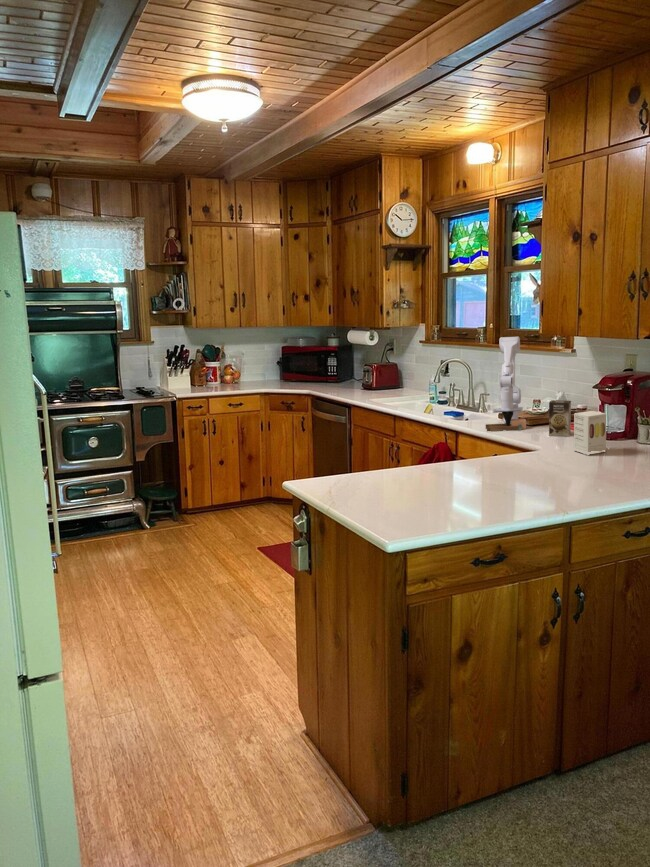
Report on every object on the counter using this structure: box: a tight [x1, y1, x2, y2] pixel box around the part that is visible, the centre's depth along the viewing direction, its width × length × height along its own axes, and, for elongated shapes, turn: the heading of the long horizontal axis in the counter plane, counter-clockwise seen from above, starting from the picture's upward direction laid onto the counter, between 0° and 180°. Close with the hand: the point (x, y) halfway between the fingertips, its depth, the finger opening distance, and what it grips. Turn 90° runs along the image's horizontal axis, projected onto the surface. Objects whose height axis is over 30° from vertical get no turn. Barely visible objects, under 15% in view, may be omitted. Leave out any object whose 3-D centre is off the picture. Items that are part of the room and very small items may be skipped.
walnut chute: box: [485, 422, 523, 432], centre depth 349 cm, size 8×17×3 cm, turn 82°
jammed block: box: [510, 418, 527, 430], centre depth 348 cm, size 4×7×4 cm, turn 82°
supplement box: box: [573, 410, 607, 452], centre depth 293 cm, size 10×9×17 cm
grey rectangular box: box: [548, 399, 572, 438], centre depth 327 cm, size 9×6×16 cm
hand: (507, 426), depth 349 cm, fingers closed
